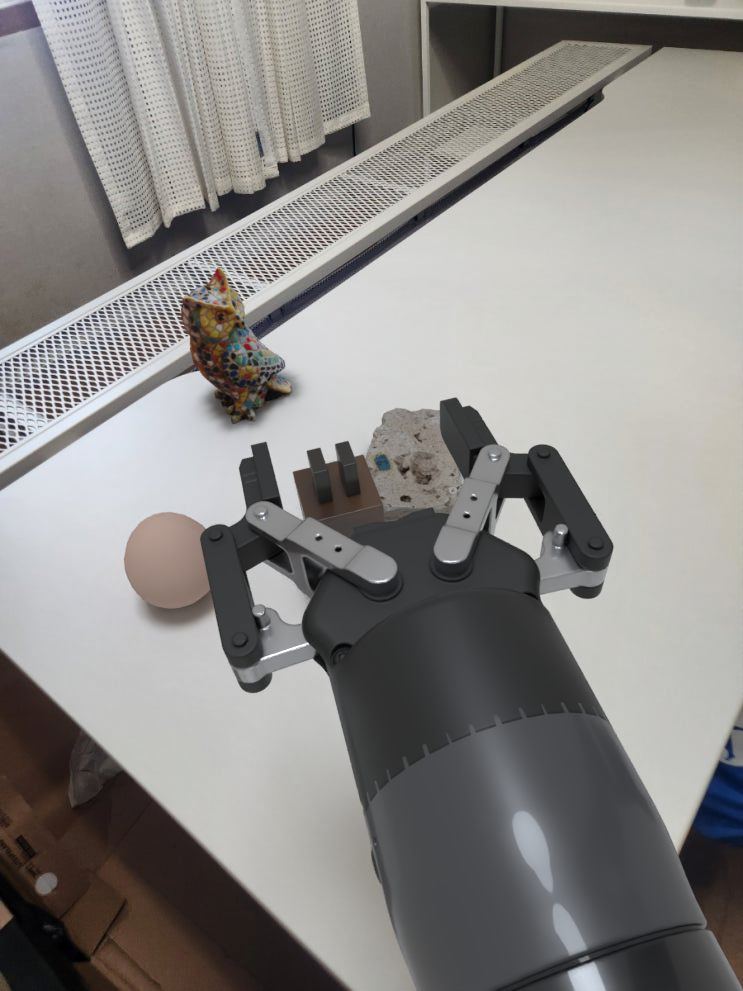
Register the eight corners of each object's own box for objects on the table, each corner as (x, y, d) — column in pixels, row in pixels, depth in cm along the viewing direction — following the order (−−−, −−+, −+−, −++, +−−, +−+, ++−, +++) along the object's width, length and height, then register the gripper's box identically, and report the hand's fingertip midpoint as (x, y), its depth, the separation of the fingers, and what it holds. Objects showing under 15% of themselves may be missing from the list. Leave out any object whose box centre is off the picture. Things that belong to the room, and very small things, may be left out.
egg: (159, 555, 59) (126, 489, 53) (238, 557, 58) (214, 490, 52) (131, 625, 54) (91, 561, 48) (216, 629, 53) (187, 564, 47)
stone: (466, 523, 54) (346, 504, 56) (460, 555, 59) (349, 537, 60) (483, 399, 61) (375, 384, 62) (476, 437, 66) (376, 423, 67)
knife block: (374, 547, 58) (359, 422, 48) (392, 597, 54) (380, 473, 44) (313, 563, 57) (285, 440, 47) (327, 615, 53) (299, 493, 43)
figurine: (291, 421, 70) (263, 291, 59) (206, 430, 70) (162, 302, 59) (292, 373, 76) (266, 246, 65) (213, 381, 76) (175, 256, 65)
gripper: (765, 656, 17) (510, 328, 28) (213, 825, 15) (171, 405, 26) (688, 770, 23) (500, 458, 34) (273, 905, 21) (218, 529, 32)
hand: (355, 435), depth 30 cm, fingers open, 8 cm apart
